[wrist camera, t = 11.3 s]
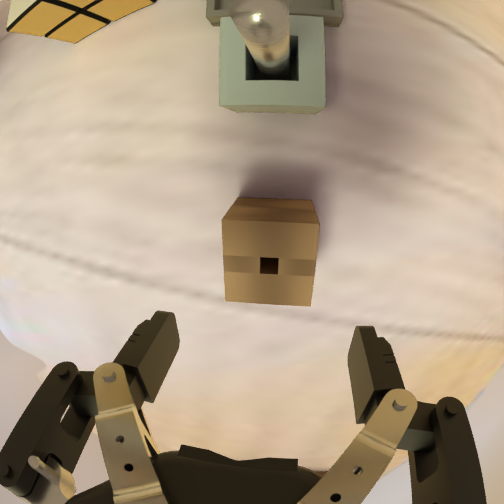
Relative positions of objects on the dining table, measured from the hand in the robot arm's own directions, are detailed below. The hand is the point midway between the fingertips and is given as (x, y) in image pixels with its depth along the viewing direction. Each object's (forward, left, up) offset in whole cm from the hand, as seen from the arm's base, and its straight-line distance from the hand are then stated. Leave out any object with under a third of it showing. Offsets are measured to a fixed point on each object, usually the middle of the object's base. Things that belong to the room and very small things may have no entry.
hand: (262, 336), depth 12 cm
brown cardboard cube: (0, 0, -13) cm, 13 cm away
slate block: (0, +13, -13) cm, 18 cm away
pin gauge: (0, +13, -12) cm, 18 cm away
